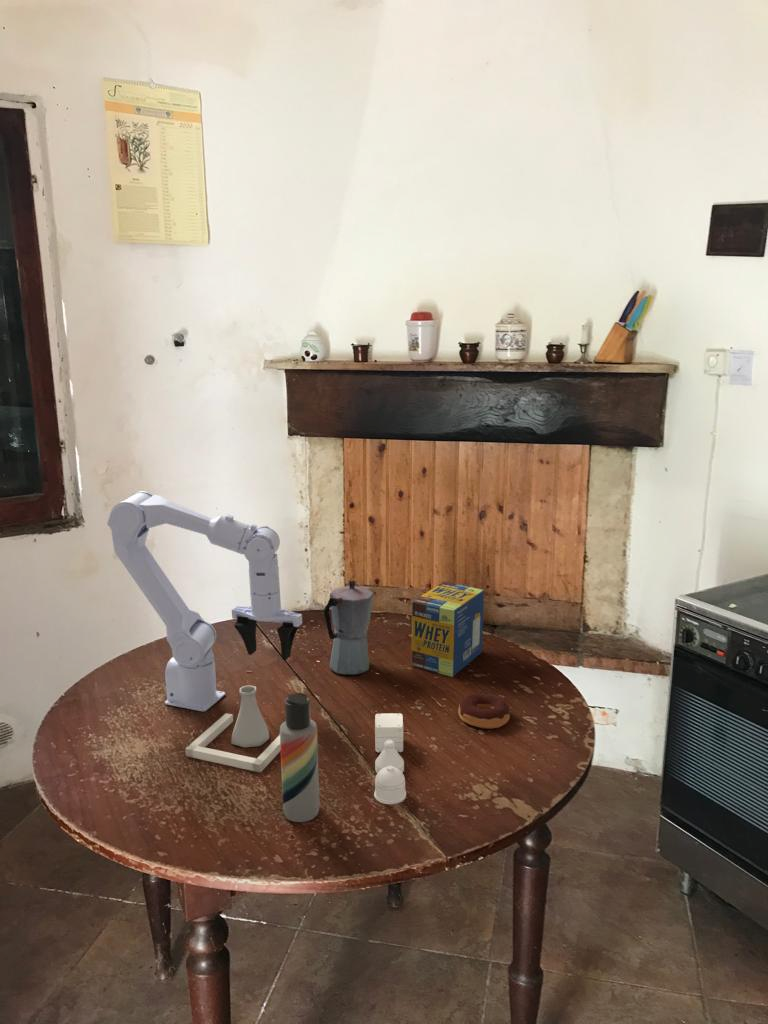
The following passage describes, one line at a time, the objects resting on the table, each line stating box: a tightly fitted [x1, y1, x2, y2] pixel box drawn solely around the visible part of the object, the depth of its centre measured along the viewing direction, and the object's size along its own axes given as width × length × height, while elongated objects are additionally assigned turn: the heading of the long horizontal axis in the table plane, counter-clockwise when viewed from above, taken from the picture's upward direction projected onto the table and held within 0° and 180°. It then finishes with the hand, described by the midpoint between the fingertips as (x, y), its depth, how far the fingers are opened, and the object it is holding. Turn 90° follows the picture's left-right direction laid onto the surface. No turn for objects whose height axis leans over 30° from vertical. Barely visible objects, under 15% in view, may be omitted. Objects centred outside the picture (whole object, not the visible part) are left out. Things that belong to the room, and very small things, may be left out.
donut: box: [457, 692, 511, 730], centre depth 154 cm, size 10×10×4 cm
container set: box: [373, 712, 407, 805], centre depth 137 cm, size 20×5×6 cm, turn 0°
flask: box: [230, 685, 270, 748], centre depth 147 cm, size 7×7×10 cm
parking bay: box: [185, 712, 281, 773], centre depth 146 cm, size 15×14×2 cm
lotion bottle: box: [279, 692, 320, 823], centre depth 124 cm, size 6×6×20 cm
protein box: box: [411, 581, 485, 678], centre depth 179 cm, size 10×15×16 cm
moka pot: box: [323, 580, 375, 676], centre depth 174 cm, size 10×15×20 cm, turn 148°
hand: (269, 655), depth 158 cm, fingers open, 7 cm apart
